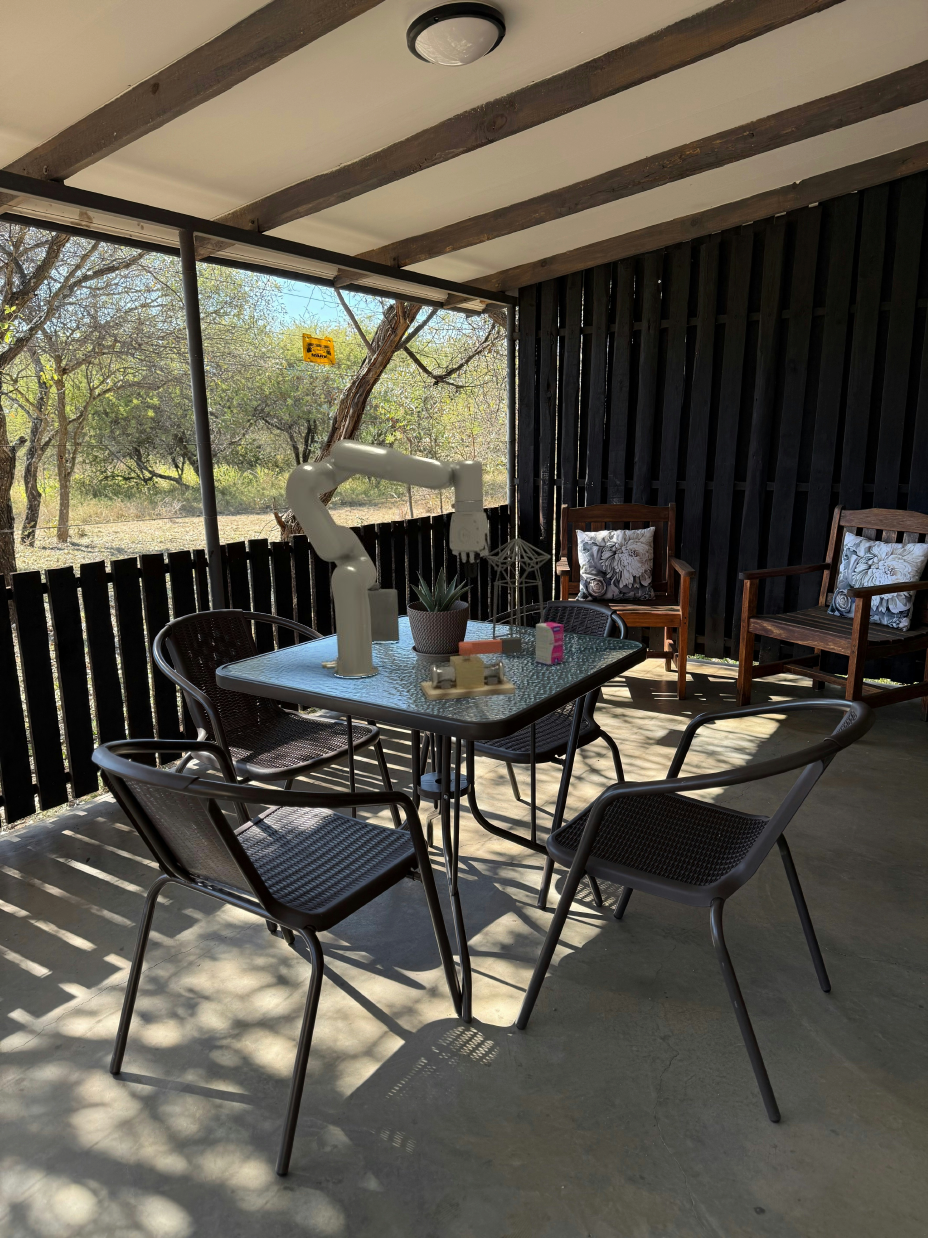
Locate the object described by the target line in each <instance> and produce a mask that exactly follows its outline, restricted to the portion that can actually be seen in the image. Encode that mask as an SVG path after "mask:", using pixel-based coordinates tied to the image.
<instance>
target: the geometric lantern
mask: <svg viewBox="0 0 928 1238" xmlns="http://www.w3.org/2000/svg"><path fill="white" fill-rule="evenodd" d="M504 548H505V549H504ZM502 550H503V551H502ZM524 550H525V551H526V553H525V551H524ZM533 550H535V551H536V552H538V553H540V554H542V555H539V556H538V555H537V554H536V553H535V552H534V551H533ZM499 551H502V552H500V553H499V554H498V555H497V556H492V555H494V554H496V553H497V552H499ZM519 555H522V556H523V558H519ZM528 557H529V558H531V559H532V560H530V559H529V558H528ZM551 557H552V556H551V555H550V554H548V553H545V552H544V551H543V550H540V549H538V548H537V547H535V546H533V545H532V544H530V543H528V542H527V541H525V540H523V539H521V538H517V537H516V538H513V539H511V540H510V541H508V542H506V543H505V544H503V545H501V546H500V547H498V548H497V549H495V550H493V551H492V552H490V553H489V554H488V555H485V556H483V557H482V558H483V559H486V560H487V561H488V562H489V563H490V564H491V565H492V566H493V568H494V571H497V572H496V578H495V582H493V586H494V587H493V588H494V590H493V613H492V614H493V615H492V616H493V617H492V619H493V621H492V639H491V640H497V639H499V638H504V637H509V636H510V637H514V636H513V635H515V637H520V638H521V639H522V640H523V639H524V636H525V635H527V636H531V637H535V638H536V634H533V633H529V632H527V621H526V619H527V618H526V588H525V587H527V586H533V585H534V586H535V585H537V586H538V587H537V588H538V596H539V597H538V599H539V609H540V610H539V611H540V621H541V622H540V624H541V623H545V622H544V619H545V617H544V603H543V601H544V600H543V599H544V598H543V583H542V579H541V574H540V573H541V572H540V569H539V568H540V567H541V566H542V565H543V564H544V563H546V562H547V561H548V560H549V559H550V558H551ZM505 558H506V559H505ZM510 558H511V559H510ZM516 559H517V560H516ZM540 561H541V562H540ZM514 562H518V563H519V565H521V566H522V567H523V568H524V569H525V572H524V574H523V575H522V577H521V578H520V577H519V576H518V574H517V573H516V572H515V570H514V569H513V567H512V566H511V565H512V563H514ZM523 562H524V563H526V564H524V563H523ZM536 562H538V563H537V564H536ZM501 563H506V564H501ZM529 564H530V565H529ZM497 565H498V566H497ZM507 567H509V568H510V570H512V572H513V573H514V575H515V576H516V577H517V578H515V579H509V577H508V576H507V574H506V572H505V571H504V570H505V569H507ZM532 567H533V568H532ZM500 571H501V573H502V574H503V575H504V577H505V578H506V579H505V580H500V581H498V579H499V576H500V575H499V574H500ZM531 571H534V573H535V576H536V580H530V579H526V576H527V575H528V573H529V572H531ZM537 571H538V572H537ZM513 581H517V582H516V584H517V585H515V584H512V583H511V582H513ZM506 582H508V584H505V583H506ZM521 582H522V584H521ZM525 582H532V583H527V584H525ZM499 586H504V587H510V633H509V632H508V633H506V634H500V635H496V627H497V626H496V625H497V623H496V622H497V606H498V595H499V594H498V593H499V592H498V591H499ZM520 587H522V594H523V595H522V599H523V600H522V601H523V602H522V603H523V632H522V625H521V609H520V607H521V606H520ZM514 588H516V591H517V592H516V610H515V611H516V616H515V617H516V618H515V632H514V631H513V630H514V629H513V628H514V627H513V624H514V622H513V621H514V619H513V618H514V617H513V616H514V615H513V614H514V612H513V611H514V610H513V609H514V607H513V605H514V599H513V598H514ZM531 643H535V644H531ZM522 645H526V646H529V647H522V651H529V652H526V653H523V654H522V653H519V654H518V653H515V654H504V655H506V656H509V657H516V658H517V657H522V656H528V655H531V654H536V639H534V640H528V641H522ZM500 655H503V654H502V653H500Z"/></svg>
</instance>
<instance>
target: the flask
mask: <svg viewBox="0 0 928 1238" xmlns="http://www.w3.org/2000/svg"><path fill="white" fill-rule="evenodd" d="M367 594H368V599H369V605H370V618H371V638H372V642H374V641H398V640H399V641H400V630H399V629H400V628H399V627H400V626H399V625H400V624H399V623H400V622H399V604H398V603H399V602H398V601H399V600H398V590H397V589H394V588H389V589H388V588H386V589H385V588H383V589H382V588H381V589H380V583H379V582H375V583H374V585H373V586H372V587H371V588H369V589H368V590H367Z"/></svg>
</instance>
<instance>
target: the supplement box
mask: <svg viewBox="0 0 928 1238" xmlns="http://www.w3.org/2000/svg"><path fill="white" fill-rule="evenodd" d="M535 635H536V637H535V640H536V642H535V644H536V653H535V664H539V665H542V664H543V666H547V667H550V665H551V666H554V665H553V664H555V665H558V664H557V663H561V662H563V663H564V624H560V623H557V622H552V621H551V622H550V621H548V622H544V623H541V622H540V623H537V624H535ZM561 664H562V663H561Z"/></svg>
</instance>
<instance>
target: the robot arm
mask: <svg viewBox="0 0 928 1238" xmlns="http://www.w3.org/2000/svg"><path fill="white" fill-rule="evenodd" d="M356 475H360V476H365V477H370V478H374V479H378V480H382V481H383V480H384V481H387V482H393V483H394V482H396V483H401V484H405V485H410V486H413V487H417V488H418V487H419V488H424V489H427V490H429V489H430V490H445V489H449V488H450V489H451V488H453V489H454V491H453V492H454V502H453V503H451V504H450V505H451V508H452V509H454V513H452V515H451V520H450V526H449V548H450V549H451V552H452V554H453V555H456V556H458V557H459V558H460V559H461V561H462V563H464V564H463V565H464V566H463V567H464V574H465V575H464V576H465V578H468V579H469V578H476V577H477V574H478V562H479V561H480V559H481V558H482V557H485V556H487V555H488V554H490V553H489V547H490V533H489V532H490V531H489V525H488V518H487V513H486V512H484V484H483V483H484V481H483V479H484V478H483V477H484V476H483V463H482V462H481V461H480V460H477V459H464V460H457V461H451V460H450V461H449V460H443V459H432V458H427V457H422V456H419V455H418V456H417V455H413V454H409V453H404V452H401V451H398V450H397V449H395V448H393V447H389V446H388V447H387V446H382V445H376V444H371V443H366V442H363V441H358V440H354V439H340V440H338V441H336V442H335V443H333V445H332V447H331V449H330V454H329V455H328V456H326V457H325V458H323V459H322V460H320V461H318V462H315V461H314V462H313V461H310V462H303V463H300V464H298V465H296V467H294V468H293V469H292V470H291V472H290V474H289V475H288V477H287V480H286V483H285V496H286V501H287V504H288V507H289V508H290V510H291V512H292V513H293V515H294V517H295V518H296V520H297V522H298V523H299V525H300V527H301V529H302V530H303V532H304V534H305V535H306V537H307V539H308V540H309V542H310V544H311V546H312V547H313V548H314V551H315V553H316V554H317V556H318V557H319V558H320V559H322V560H323V561H326V562H334V563H335V564H336V567H335V569H334V570H333V573H332V576H331V580H330V581H331V583H330V584H331V590H332V596H333V602H334V611H335V613H334V614H335V627H336V644H337V657H336V659H333V661H327V660H326V661H322V662H321V669H326V670H332V669H333V671H332V672H333V673H334V674H336V675H339V676H343V677H362V676H369V675H373V674H376V673H378V674H379V671H380V669H379V667H378V666H375V665H374V662H373V644H372V638H371V618H370V605H369V599H368V594H367V590H370V588H371V587H372V586H373V585H374V583H376V581H377V573H378V572H377V569H376V566H375V565H374V562H373V561H372V559H371V557H370V556H369V554H368V552H367V551H366V550H365V547H364V545H363V544H362V542H361V540H360V539H359V537H358V536H357V535H356V533H354V531H353V530H352V529H351V528H350V527H348V526H345V525H340V524H337V523H336V521H335V519H334V518H333V516H332V515H331V513H330V511H329V510H328V508H327V506H325V504H324V503H323V502H322V500H321V499H320V497H319V495H320V494H326V493H329V492H331V491H333V490H334V489H336V488H337V487H339V486H340V485H342V484H344V483H345V482H346V481H348V480H350V479H351V478H353V477H354V476H356ZM334 674H333V675H334ZM376 675H377V674H376Z"/></svg>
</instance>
